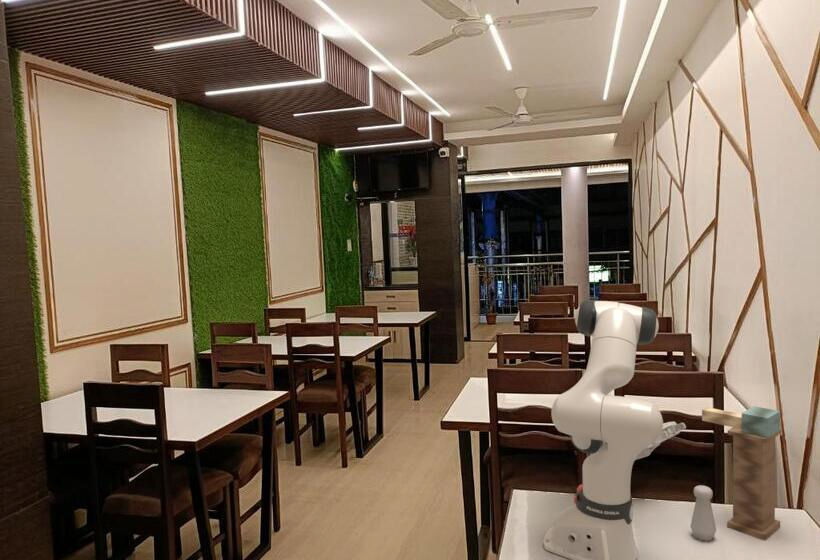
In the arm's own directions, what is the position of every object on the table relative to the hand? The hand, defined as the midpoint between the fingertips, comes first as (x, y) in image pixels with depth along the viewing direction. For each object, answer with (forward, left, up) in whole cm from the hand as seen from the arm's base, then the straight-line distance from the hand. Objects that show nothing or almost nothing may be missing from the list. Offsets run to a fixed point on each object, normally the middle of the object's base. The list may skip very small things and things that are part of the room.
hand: (676, 429), depth 166 cm
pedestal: (+19, -7, -21) cm, 29 cm away
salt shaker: (+8, -18, -21) cm, 29 cm away
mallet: (+16, -6, +5) cm, 17 cm away
